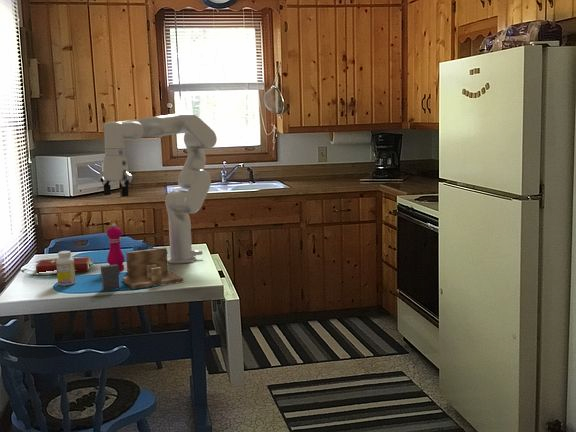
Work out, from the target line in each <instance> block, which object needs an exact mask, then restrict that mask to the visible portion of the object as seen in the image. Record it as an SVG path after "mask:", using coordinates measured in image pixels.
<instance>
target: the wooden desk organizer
mask: <svg viewBox="0 0 576 432" xmlns="http://www.w3.org/2000/svg"><path fill="white" fill-rule="evenodd" d="M131 251H132V252H131ZM131 251H126V252H125V254H126V255H125V257H126V259H125V260H126V271H127V272H126V274H127V276H122V280H123V281H124V284H126V285H127V284H128V285H129V286H128V285H127V286H128V287H130V288H131V290H137V289H136V288H139V289H144V288H143V287H146V288H150V287H149V286H152V287H155V286H154V285H159V286H162V285H161V284H166V285H170V283H172V284H177V283H176V282H179V283H184V278H183V277H182V276H180V275H179V274H177V273H175V272H174V271H172V270H169V266H168V262H167V259H168V249H167V247H158V248H157V247H156V248H153V249H148V250H140V251H133V250H131ZM122 280H121V281H122ZM123 281H122V282H123Z"/></svg>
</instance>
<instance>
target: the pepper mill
mask: <svg viewBox="0 0 576 432" xmlns="http://www.w3.org/2000/svg"><path fill="white" fill-rule="evenodd" d="M121 229H122V228H120V227H117V224H116V223H115V222H113V223H112V224H111V227H108V229H107V231H106V236H107V237H108V242H109V251H108V254H107V258H106V260H107V261H106V262H107V263H108V265H114V264H117V265H118V271H119V272H120V271H124V269H125V265H124V263H125V260H126V259H125V256H124V255H125V254H124V253H123V251H122V248H121V241H122V240H121V237H122V230H121Z"/></svg>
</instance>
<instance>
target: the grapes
mask: <svg viewBox="0 0 576 432" xmlns="http://www.w3.org/2000/svg"><path fill="white" fill-rule="evenodd" d="M148 249H154V247H153V246H152V245H148V244H147V243H146V242H143V243H141V244H140V245H139V244H135V245H134V246H133V248H132V250H130V252H132V251H140V250H148Z"/></svg>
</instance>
